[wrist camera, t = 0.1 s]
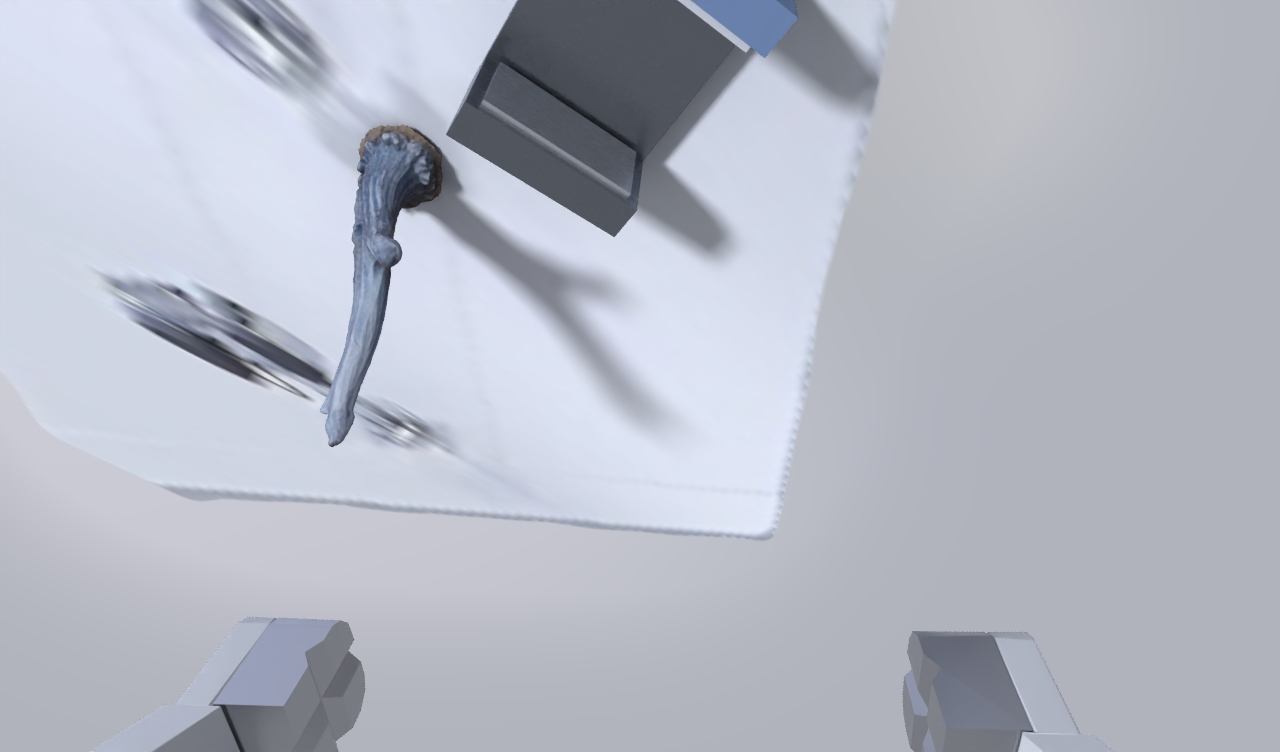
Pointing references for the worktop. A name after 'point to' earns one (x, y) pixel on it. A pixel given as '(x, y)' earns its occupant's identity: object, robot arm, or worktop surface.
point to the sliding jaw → (747, 20)
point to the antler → (377, 251)
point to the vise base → (586, 96)
